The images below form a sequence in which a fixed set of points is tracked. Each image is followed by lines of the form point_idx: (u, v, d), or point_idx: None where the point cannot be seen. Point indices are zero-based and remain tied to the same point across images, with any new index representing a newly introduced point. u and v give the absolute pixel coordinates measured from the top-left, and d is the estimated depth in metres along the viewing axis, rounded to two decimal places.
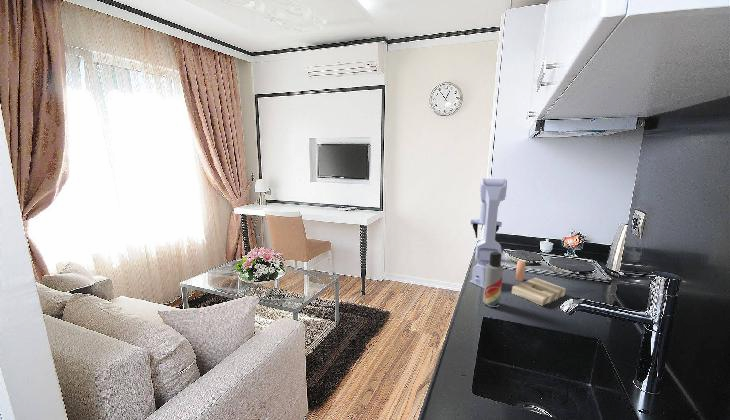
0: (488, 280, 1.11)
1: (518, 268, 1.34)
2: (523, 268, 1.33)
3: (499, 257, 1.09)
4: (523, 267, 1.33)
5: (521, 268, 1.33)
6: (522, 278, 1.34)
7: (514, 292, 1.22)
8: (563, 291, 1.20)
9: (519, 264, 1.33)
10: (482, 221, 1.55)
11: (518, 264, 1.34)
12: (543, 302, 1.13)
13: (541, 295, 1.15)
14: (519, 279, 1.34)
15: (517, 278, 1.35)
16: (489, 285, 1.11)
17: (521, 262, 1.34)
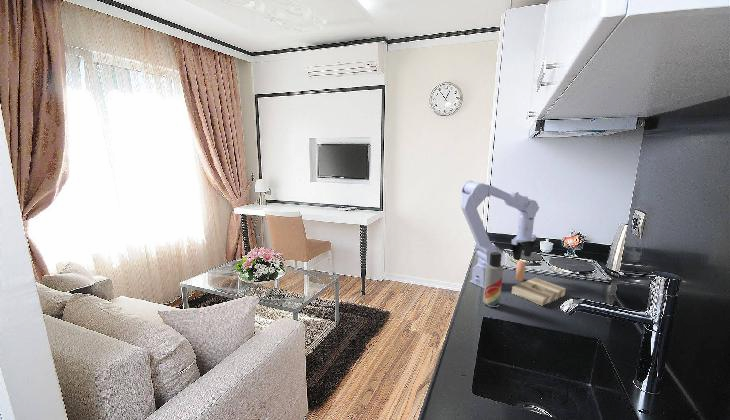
0: (488, 280, 1.11)
1: (518, 268, 1.34)
2: (523, 268, 1.33)
3: (499, 257, 1.09)
4: (523, 267, 1.33)
5: (521, 268, 1.33)
6: (522, 278, 1.34)
7: (514, 292, 1.22)
8: (563, 291, 1.20)
9: (519, 264, 1.33)
10: None
11: (518, 264, 1.34)
12: (543, 302, 1.13)
13: (541, 295, 1.15)
14: (519, 279, 1.34)
15: (517, 278, 1.35)
16: (489, 285, 1.11)
17: (521, 262, 1.34)
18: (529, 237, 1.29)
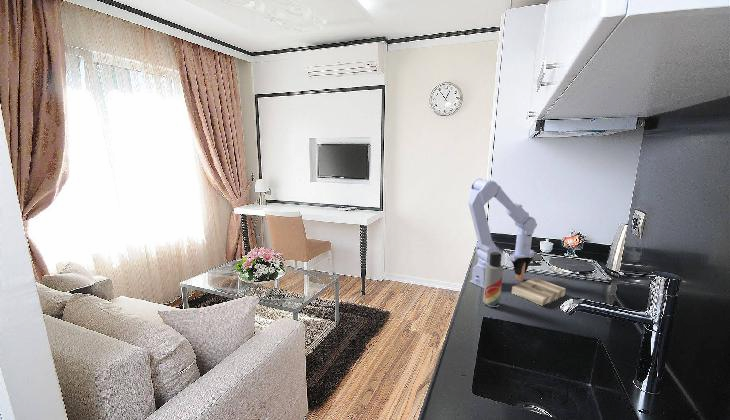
0: (488, 280, 1.11)
1: None
2: (523, 268, 1.33)
3: (499, 257, 1.09)
4: (523, 267, 1.33)
5: None
6: (522, 278, 1.34)
7: (514, 292, 1.22)
8: (563, 291, 1.20)
9: None
10: None
11: None
12: (543, 302, 1.13)
13: (541, 295, 1.15)
14: (519, 279, 1.34)
15: (517, 278, 1.35)
16: (489, 285, 1.11)
17: None
18: (527, 253, 1.30)
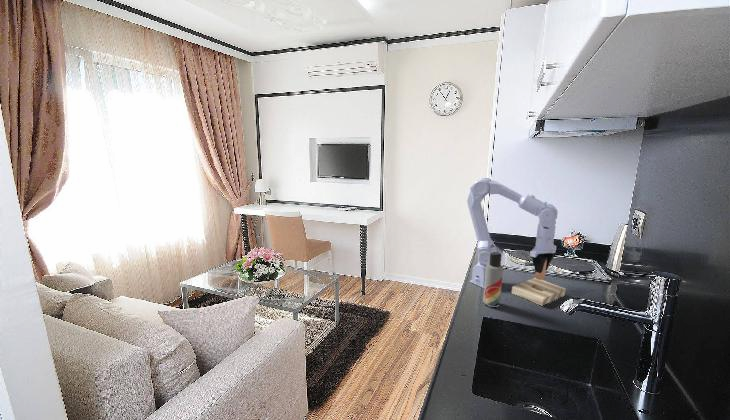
0: (488, 280, 1.11)
1: None
2: (544, 265, 1.18)
3: (499, 257, 1.09)
4: (544, 264, 1.18)
5: None
6: (543, 276, 1.19)
7: (514, 292, 1.22)
8: (563, 291, 1.20)
9: None
10: None
11: None
12: (543, 302, 1.13)
13: (541, 295, 1.15)
14: (539, 277, 1.19)
15: (537, 276, 1.20)
16: (489, 285, 1.11)
17: None
18: (550, 248, 1.15)
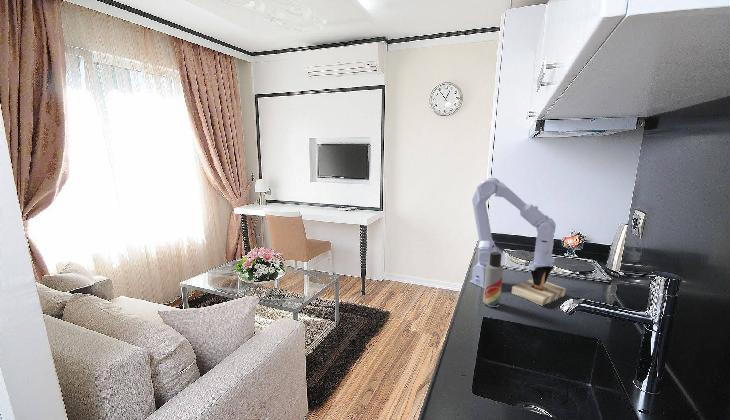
0: (488, 280, 1.11)
1: None
2: (542, 278, 1.19)
3: (499, 257, 1.09)
4: (542, 277, 1.19)
5: None
6: (541, 289, 1.20)
7: (514, 292, 1.22)
8: (563, 291, 1.20)
9: None
10: None
11: None
12: (543, 302, 1.13)
13: (541, 295, 1.15)
14: None
15: None
16: (489, 285, 1.11)
17: None
18: (548, 262, 1.16)
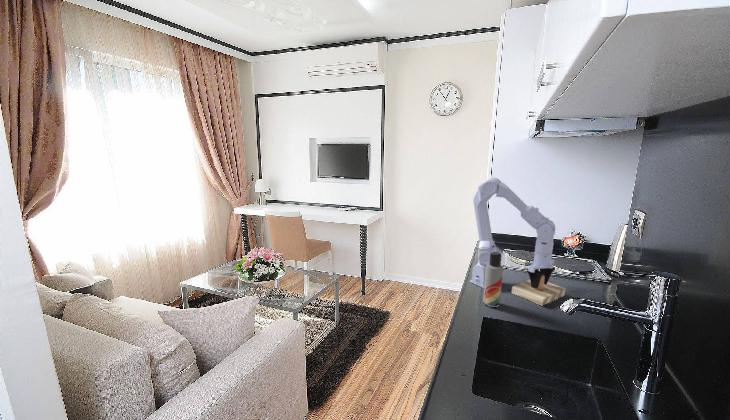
0: (488, 280, 1.11)
1: None
2: (542, 282, 1.20)
3: (499, 257, 1.09)
4: (542, 281, 1.19)
5: (540, 282, 1.20)
6: None
7: (514, 292, 1.22)
8: (563, 291, 1.20)
9: None
10: None
11: None
12: (543, 302, 1.13)
13: (541, 295, 1.15)
14: None
15: None
16: (489, 285, 1.11)
17: None
18: (548, 264, 1.17)
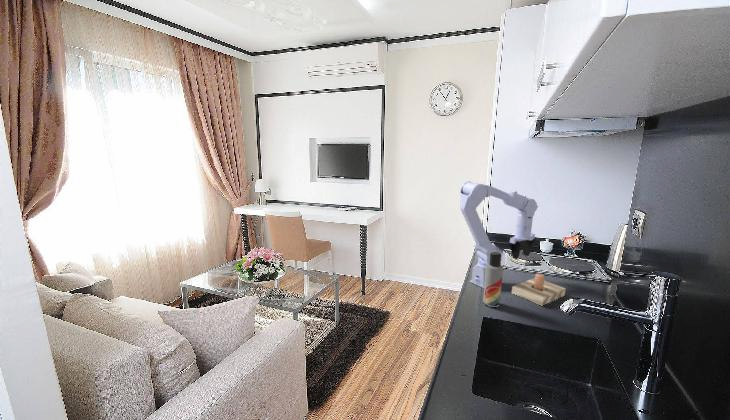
0: (488, 280, 1.11)
1: (536, 282, 1.20)
2: (542, 282, 1.20)
3: (499, 257, 1.09)
4: (542, 281, 1.19)
5: (540, 282, 1.20)
6: None
7: (514, 292, 1.22)
8: (563, 291, 1.20)
9: (537, 278, 1.20)
10: None
11: (536, 278, 1.20)
12: (543, 302, 1.13)
13: (541, 295, 1.15)
14: None
15: None
16: (489, 285, 1.11)
17: (540, 275, 1.20)
18: (528, 236, 1.29)
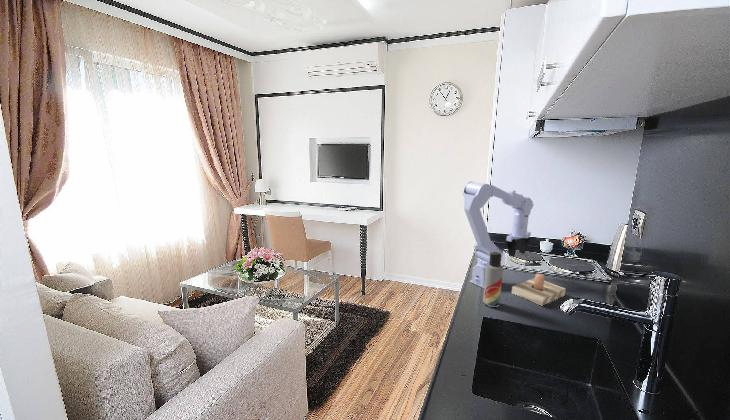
0: (488, 280, 1.11)
1: (536, 282, 1.20)
2: (542, 282, 1.20)
3: (499, 257, 1.09)
4: (542, 281, 1.19)
5: (540, 282, 1.20)
6: None
7: (514, 292, 1.22)
8: (563, 291, 1.20)
9: (537, 278, 1.20)
10: None
11: (536, 278, 1.20)
12: (543, 302, 1.13)
13: (541, 295, 1.15)
14: None
15: None
16: (489, 285, 1.11)
17: (540, 275, 1.20)
18: (524, 234, 1.32)
